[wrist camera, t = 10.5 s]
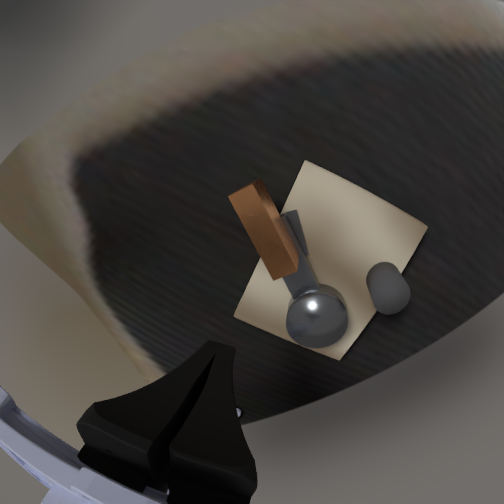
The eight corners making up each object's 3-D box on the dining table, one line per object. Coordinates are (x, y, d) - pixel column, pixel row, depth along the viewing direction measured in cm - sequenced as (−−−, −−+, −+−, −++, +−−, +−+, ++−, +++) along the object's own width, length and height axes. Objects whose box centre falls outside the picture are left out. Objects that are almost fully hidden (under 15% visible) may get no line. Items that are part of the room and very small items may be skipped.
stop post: (387, 299, 18) (396, 319, 16) (359, 285, 18) (365, 305, 16) (405, 270, 17) (417, 288, 15) (377, 255, 17) (387, 272, 15)
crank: (353, 321, 19) (358, 352, 16) (301, 339, 20) (298, 370, 17) (282, 167, 16) (276, 171, 13) (224, 196, 18) (206, 207, 15)
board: (338, 352, 22) (339, 361, 21) (236, 309, 22) (232, 317, 21) (422, 222, 17) (428, 227, 16) (305, 159, 17) (304, 160, 16)
